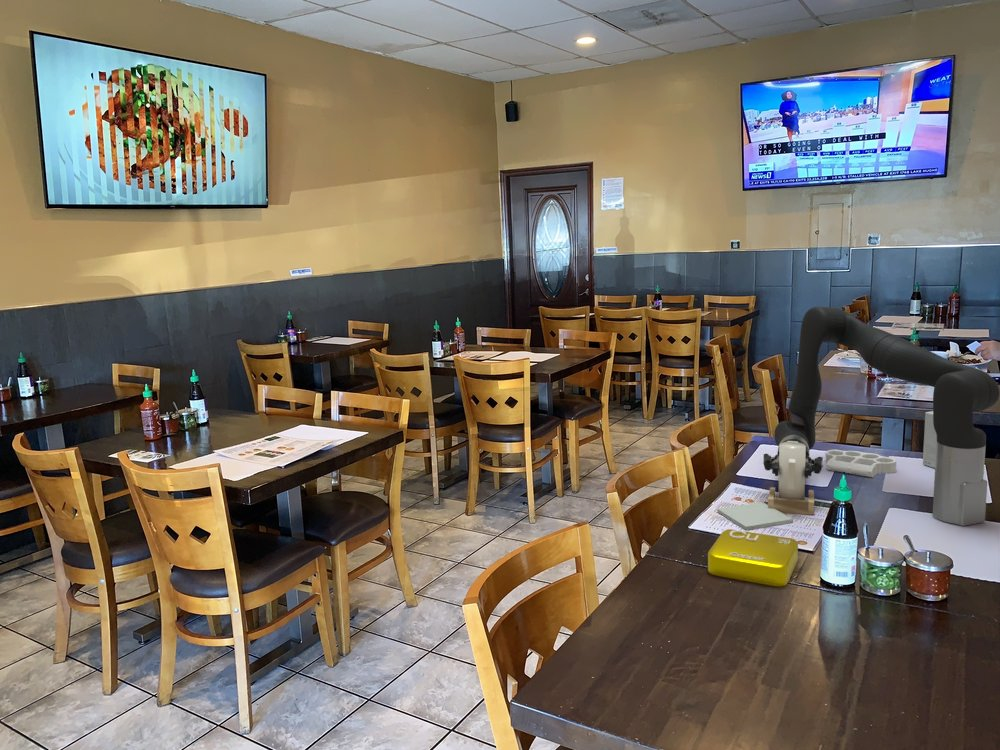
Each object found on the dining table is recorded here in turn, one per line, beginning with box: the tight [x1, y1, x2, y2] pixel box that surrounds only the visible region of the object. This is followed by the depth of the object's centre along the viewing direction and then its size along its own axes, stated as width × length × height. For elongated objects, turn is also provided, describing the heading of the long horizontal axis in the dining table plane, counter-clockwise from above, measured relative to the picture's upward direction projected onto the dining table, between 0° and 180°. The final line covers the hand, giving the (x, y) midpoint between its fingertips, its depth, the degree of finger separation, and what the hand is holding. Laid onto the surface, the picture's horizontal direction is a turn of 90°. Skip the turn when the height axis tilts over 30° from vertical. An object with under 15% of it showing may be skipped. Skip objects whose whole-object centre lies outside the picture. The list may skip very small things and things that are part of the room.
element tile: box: [707, 528, 799, 587], centre depth 150 cm, size 15×15×5 cm
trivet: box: [717, 501, 794, 531], centre depth 174 cm, size 12×12×1 cm
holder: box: [767, 486, 815, 516], centre depth 179 cm, size 9×10×3 cm
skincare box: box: [922, 410, 937, 469], centre depth 201 cm, size 8×6×15 cm
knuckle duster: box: [824, 449, 897, 478], centre depth 204 cm, size 3×18×15 cm
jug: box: [778, 441, 806, 500], centre depth 178 cm, size 10×6×15 cm, turn 158°
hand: (791, 472), depth 176 cm, fingers open, 6 cm apart
